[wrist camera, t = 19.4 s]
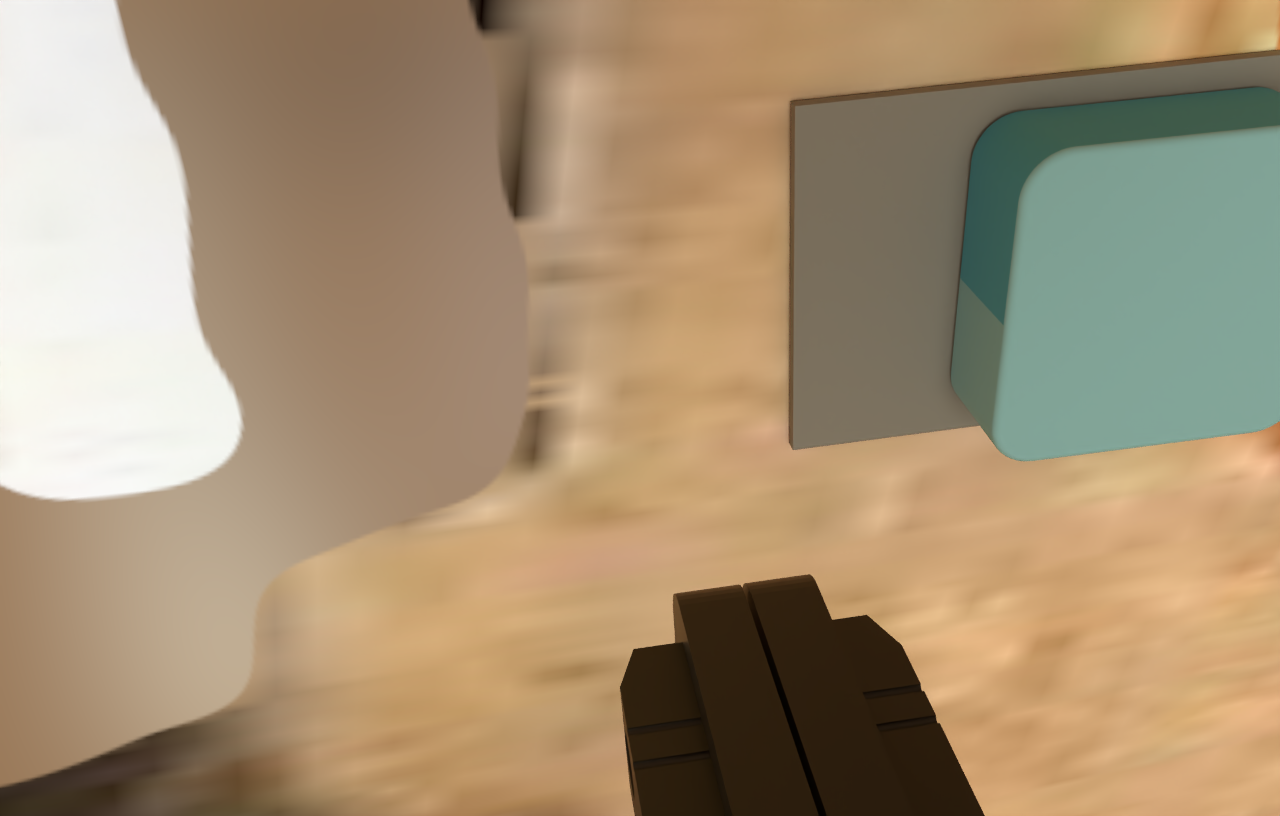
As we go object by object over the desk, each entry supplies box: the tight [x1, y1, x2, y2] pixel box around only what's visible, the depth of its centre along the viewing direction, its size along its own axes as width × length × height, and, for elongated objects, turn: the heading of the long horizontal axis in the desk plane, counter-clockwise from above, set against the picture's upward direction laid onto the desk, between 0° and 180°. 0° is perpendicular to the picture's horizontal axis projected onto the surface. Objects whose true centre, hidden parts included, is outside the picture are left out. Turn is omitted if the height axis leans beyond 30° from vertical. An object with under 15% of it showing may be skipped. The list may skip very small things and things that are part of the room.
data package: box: [951, 87, 1280, 461], centre depth 42 cm, size 12×4×12 cm
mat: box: [789, 50, 1280, 450], centre depth 44 cm, size 14×20×1 cm
